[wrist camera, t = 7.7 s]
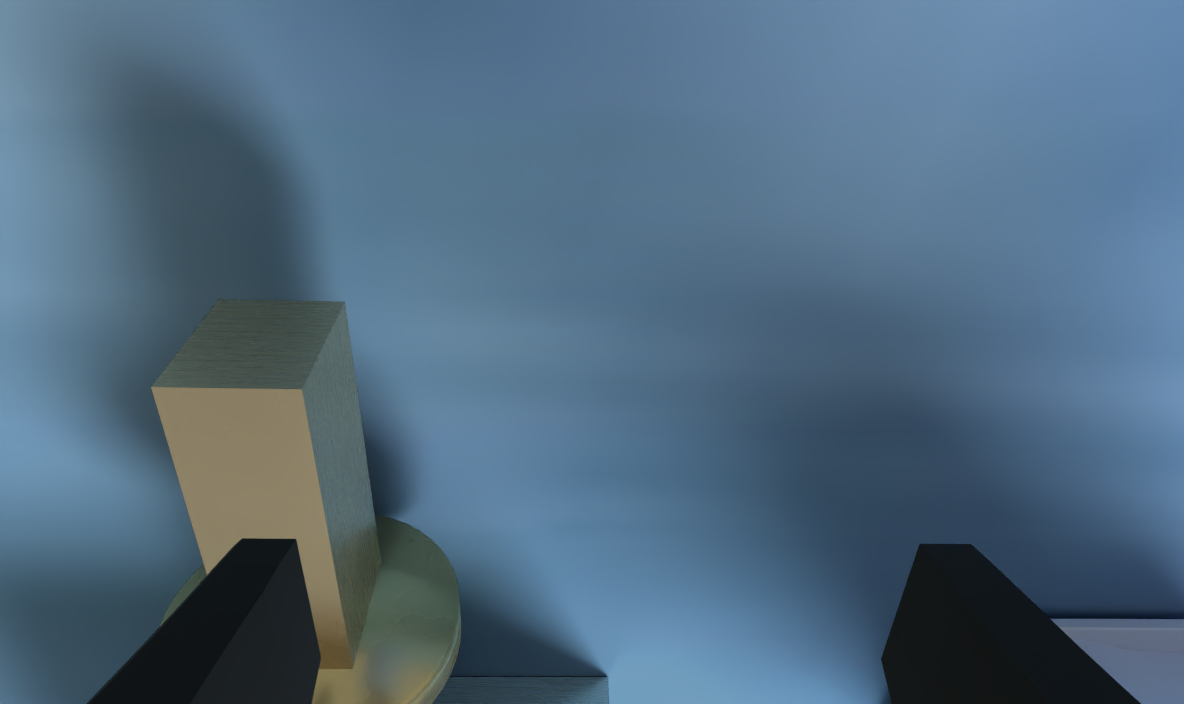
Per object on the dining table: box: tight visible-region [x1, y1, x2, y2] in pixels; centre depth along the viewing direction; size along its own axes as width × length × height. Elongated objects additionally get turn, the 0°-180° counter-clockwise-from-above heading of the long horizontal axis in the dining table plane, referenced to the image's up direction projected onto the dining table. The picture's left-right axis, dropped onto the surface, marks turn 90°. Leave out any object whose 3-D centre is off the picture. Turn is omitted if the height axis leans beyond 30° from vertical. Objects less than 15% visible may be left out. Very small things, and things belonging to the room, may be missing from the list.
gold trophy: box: [151, 299, 461, 704], centre depth 18 cm, size 6×14×6 cm, turn 178°
